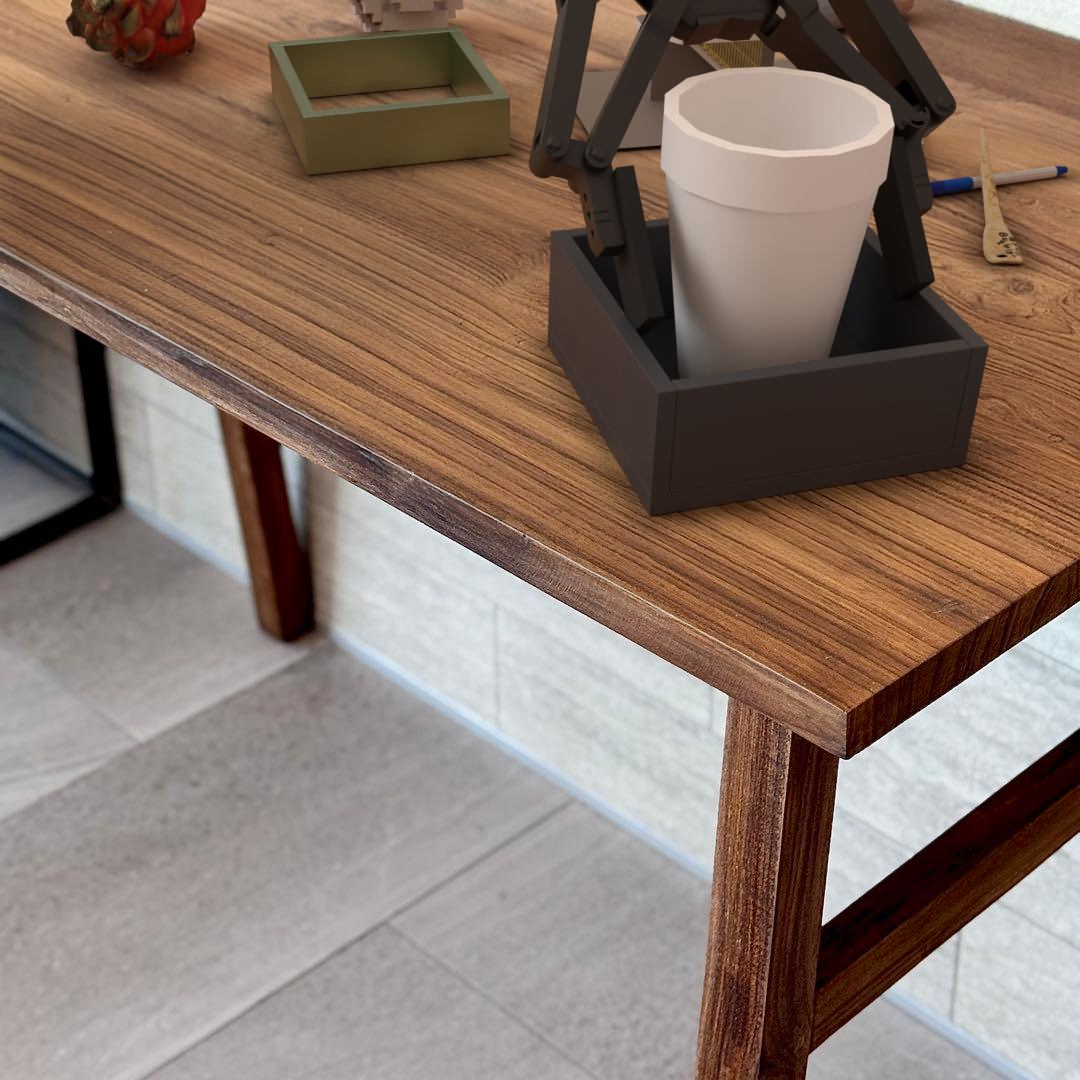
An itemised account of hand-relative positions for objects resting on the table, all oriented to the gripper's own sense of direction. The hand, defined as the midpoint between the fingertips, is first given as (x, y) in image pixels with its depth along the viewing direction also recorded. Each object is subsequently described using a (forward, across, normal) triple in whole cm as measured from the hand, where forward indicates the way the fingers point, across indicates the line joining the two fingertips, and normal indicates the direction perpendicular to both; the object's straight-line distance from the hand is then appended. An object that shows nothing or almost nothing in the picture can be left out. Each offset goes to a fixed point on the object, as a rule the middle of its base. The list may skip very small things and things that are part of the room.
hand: (783, 309), depth 71 cm
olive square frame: (-22, +9, -31) cm, 39 cm away
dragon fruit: (-33, +22, -42) cm, 57 cm away
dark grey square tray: (+3, 0, -6) cm, 7 cm away
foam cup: (+2, 0, -6) cm, 6 cm away
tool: (-9, -22, -16) cm, 29 cm away
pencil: (-28, -25, -38) cm, 54 cm away
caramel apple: (-33, +5, -34) cm, 48 cm away
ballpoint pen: (-11, -22, -19) cm, 31 cm away
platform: (-21, -12, -30) cm, 38 cm away
